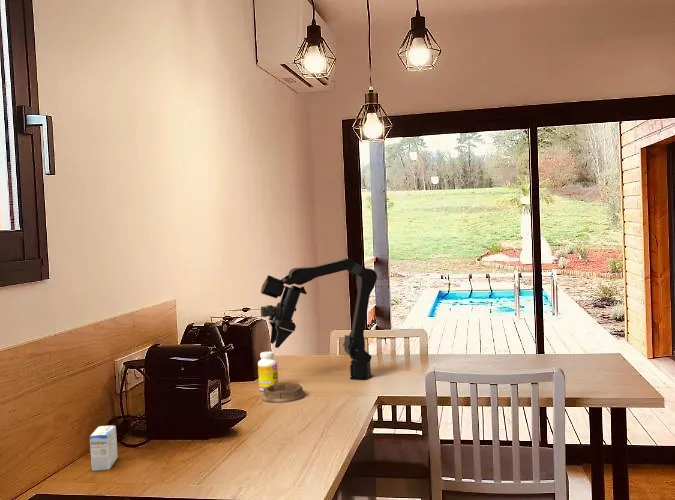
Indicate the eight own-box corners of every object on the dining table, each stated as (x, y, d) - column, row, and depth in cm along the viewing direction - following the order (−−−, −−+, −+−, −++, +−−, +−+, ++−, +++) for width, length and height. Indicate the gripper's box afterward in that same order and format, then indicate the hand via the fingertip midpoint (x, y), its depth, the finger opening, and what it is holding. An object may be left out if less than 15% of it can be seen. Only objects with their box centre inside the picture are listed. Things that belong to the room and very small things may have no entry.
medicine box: (100, 460, 170) (97, 426, 170) (118, 458, 170) (115, 424, 170) (91, 471, 162) (88, 435, 162) (110, 469, 163) (107, 434, 162)
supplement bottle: (275, 392, 229) (273, 354, 228) (256, 392, 230) (254, 354, 229) (281, 387, 235) (278, 350, 235) (262, 387, 237) (260, 351, 236)
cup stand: (312, 392, 225) (311, 383, 225) (291, 404, 212) (291, 394, 212) (275, 390, 231) (275, 381, 231) (253, 401, 218) (253, 392, 218)
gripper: (262, 293, 241) (248, 334, 240) (271, 298, 223) (256, 343, 222) (291, 302, 244) (277, 343, 243) (302, 308, 226) (287, 352, 225)
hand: (273, 345), depth 233 cm, fingers open, 9 cm apart
